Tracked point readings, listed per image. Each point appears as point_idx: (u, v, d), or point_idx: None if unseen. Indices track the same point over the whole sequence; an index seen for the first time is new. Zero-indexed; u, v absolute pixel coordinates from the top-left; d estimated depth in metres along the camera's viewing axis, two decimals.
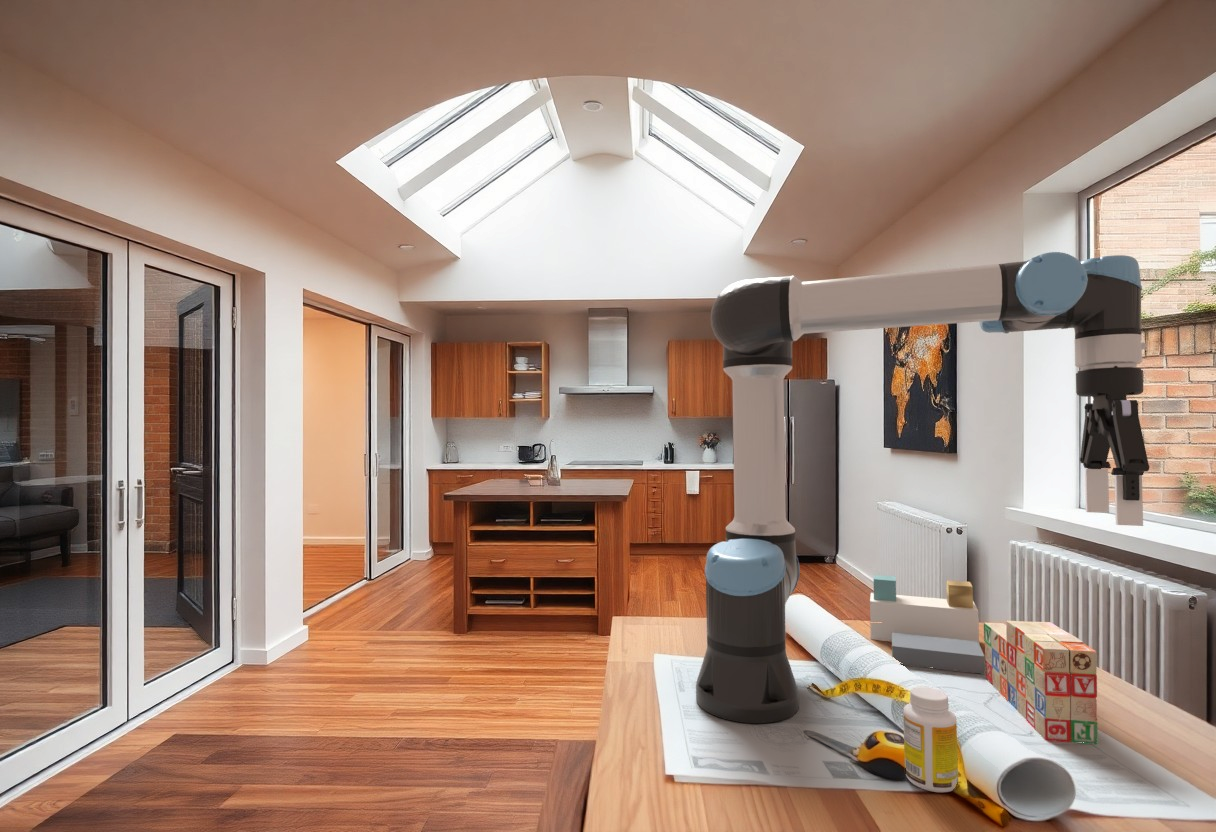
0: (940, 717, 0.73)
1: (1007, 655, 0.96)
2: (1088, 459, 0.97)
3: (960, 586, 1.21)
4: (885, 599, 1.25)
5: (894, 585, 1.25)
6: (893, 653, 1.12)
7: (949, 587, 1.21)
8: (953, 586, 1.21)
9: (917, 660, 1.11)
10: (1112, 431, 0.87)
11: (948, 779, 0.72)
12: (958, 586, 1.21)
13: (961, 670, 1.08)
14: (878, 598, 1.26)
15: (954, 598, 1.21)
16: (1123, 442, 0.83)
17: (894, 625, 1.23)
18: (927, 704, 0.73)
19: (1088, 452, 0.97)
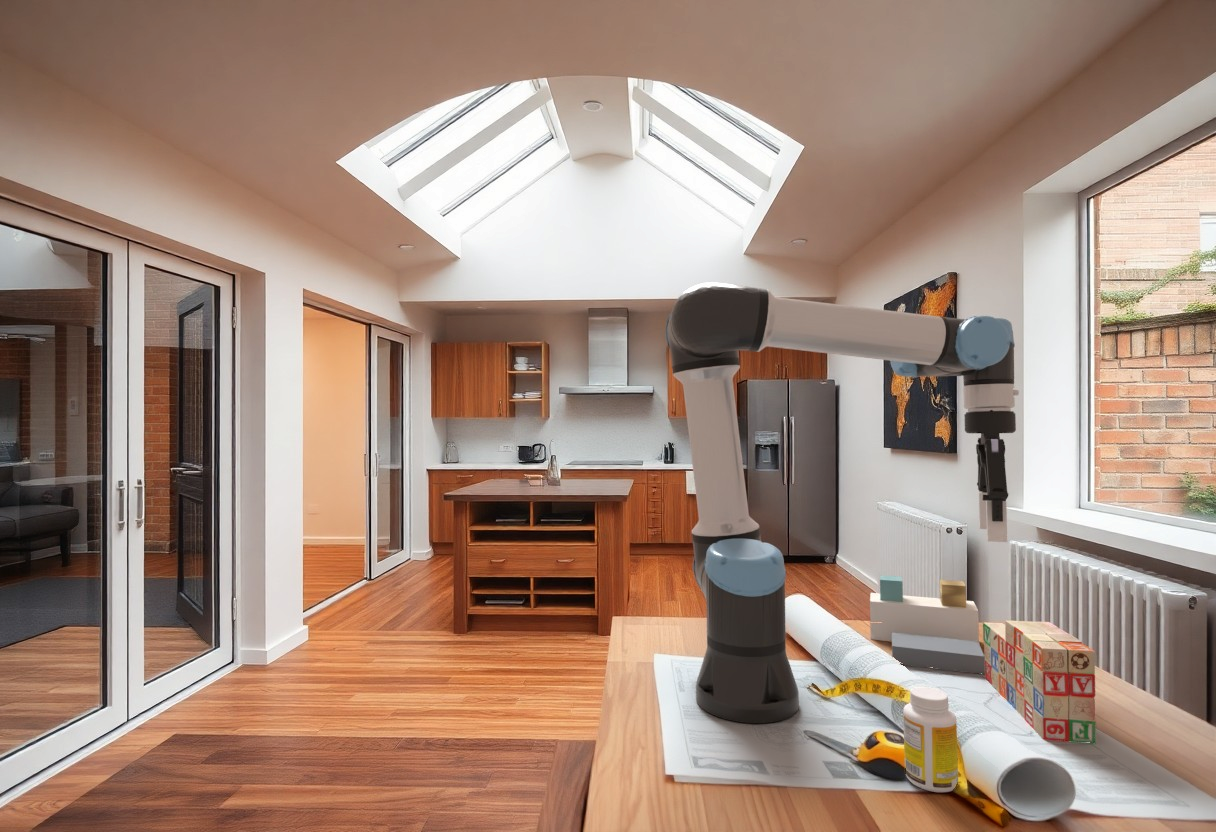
0: (940, 717, 0.73)
1: (1006, 654, 0.96)
2: (980, 484, 1.16)
3: (953, 585, 1.21)
4: (892, 599, 1.25)
5: (901, 586, 1.24)
6: (893, 653, 1.12)
7: (942, 586, 1.22)
8: (947, 585, 1.21)
9: (917, 660, 1.11)
10: (987, 464, 1.06)
11: (948, 779, 0.72)
12: (951, 585, 1.21)
13: (961, 670, 1.08)
14: (885, 599, 1.26)
15: (947, 597, 1.21)
16: (990, 474, 1.02)
17: (894, 625, 1.23)
18: (927, 704, 0.73)
19: (980, 478, 1.16)
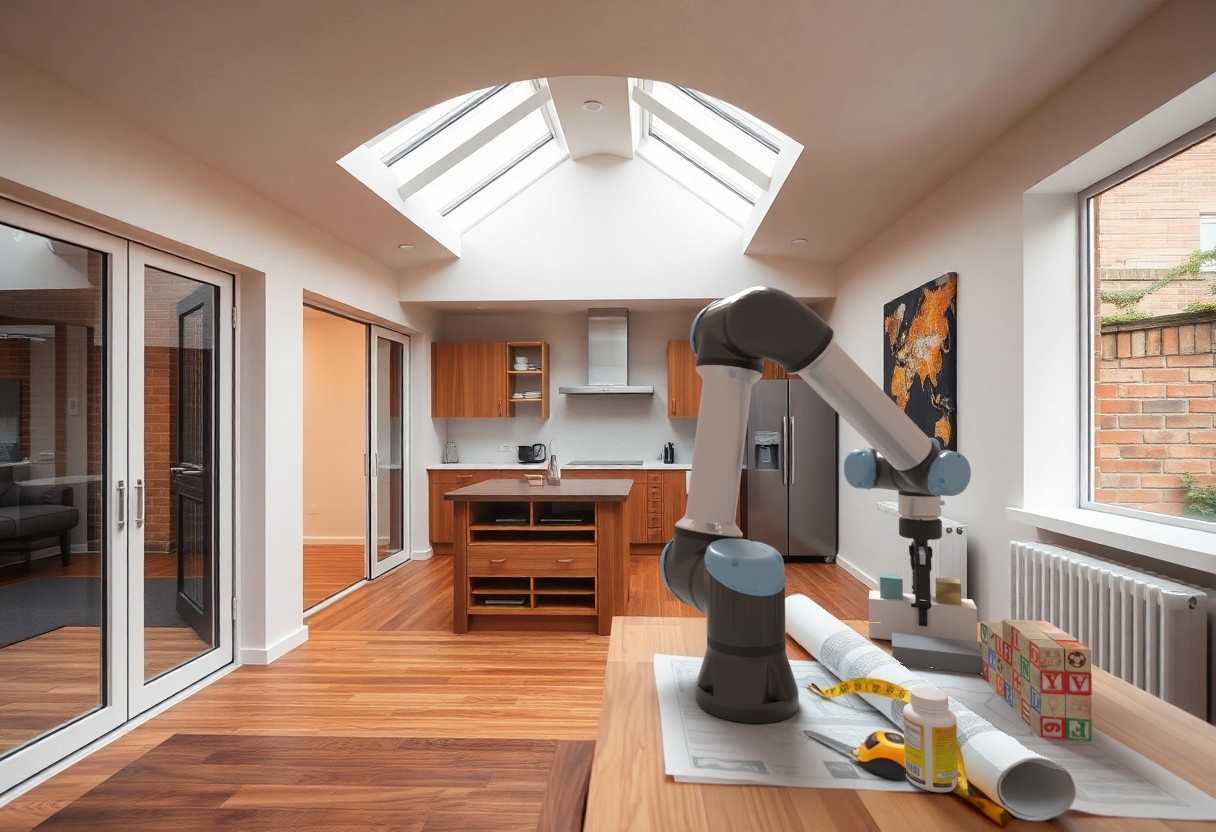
0: (940, 717, 0.73)
1: (1003, 653, 0.97)
2: (914, 587, 1.29)
3: (949, 583, 1.21)
4: (892, 597, 1.25)
5: (901, 583, 1.24)
6: (893, 653, 1.12)
7: (938, 584, 1.22)
8: (942, 583, 1.22)
9: (917, 660, 1.11)
10: None
11: (948, 779, 0.72)
12: (947, 583, 1.21)
13: (961, 670, 1.08)
14: (884, 596, 1.25)
15: (943, 595, 1.22)
16: (917, 586, 1.19)
17: (893, 622, 1.23)
18: (927, 704, 0.73)
19: (913, 581, 1.29)
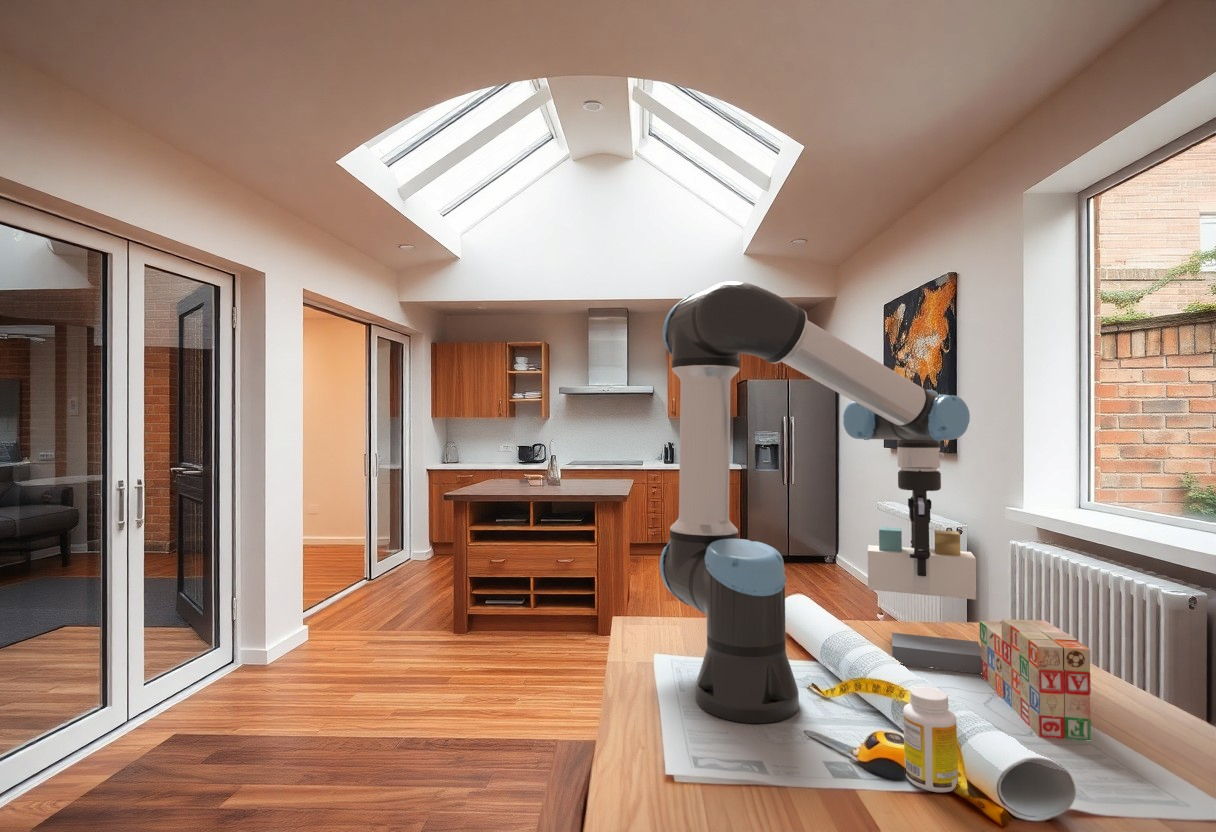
0: (940, 717, 0.73)
1: (1002, 653, 0.97)
2: (913, 541, 1.29)
3: (948, 534, 1.21)
4: (891, 549, 1.25)
5: (900, 535, 1.25)
6: (893, 653, 1.12)
7: (937, 535, 1.22)
8: (941, 534, 1.22)
9: (917, 660, 1.11)
10: None
11: (948, 779, 0.72)
12: (946, 534, 1.22)
13: (961, 670, 1.08)
14: (883, 549, 1.26)
15: (941, 546, 1.22)
16: (916, 536, 1.19)
17: (891, 574, 1.24)
18: (927, 704, 0.73)
19: (912, 535, 1.29)
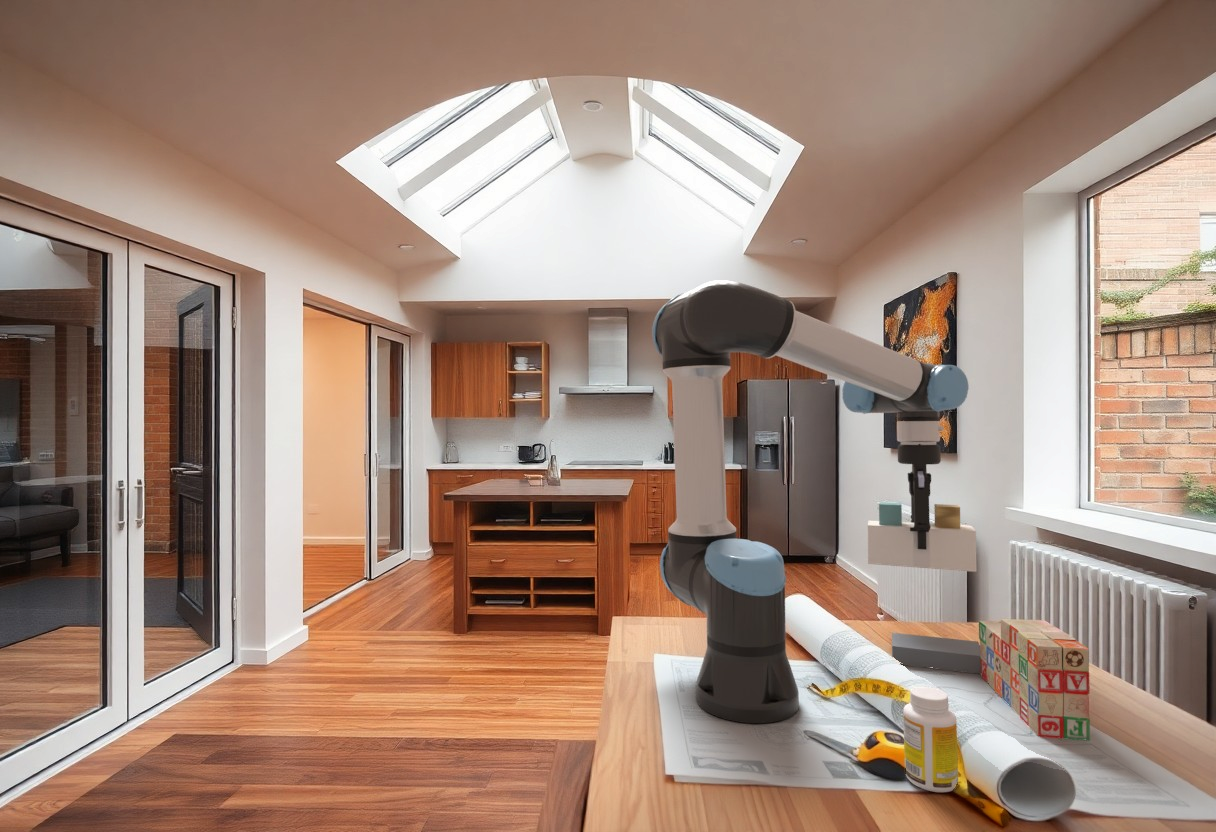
0: (940, 717, 0.73)
1: (1002, 652, 0.97)
2: (912, 515, 1.29)
3: (948, 507, 1.21)
4: (891, 523, 1.25)
5: (900, 509, 1.24)
6: (893, 653, 1.12)
7: (937, 508, 1.22)
8: (941, 507, 1.22)
9: (917, 660, 1.11)
10: None
11: (948, 779, 0.72)
12: (946, 507, 1.21)
13: (961, 670, 1.08)
14: (883, 523, 1.25)
15: (941, 519, 1.22)
16: (916, 509, 1.19)
17: (892, 548, 1.24)
18: (927, 704, 0.73)
19: (912, 509, 1.29)
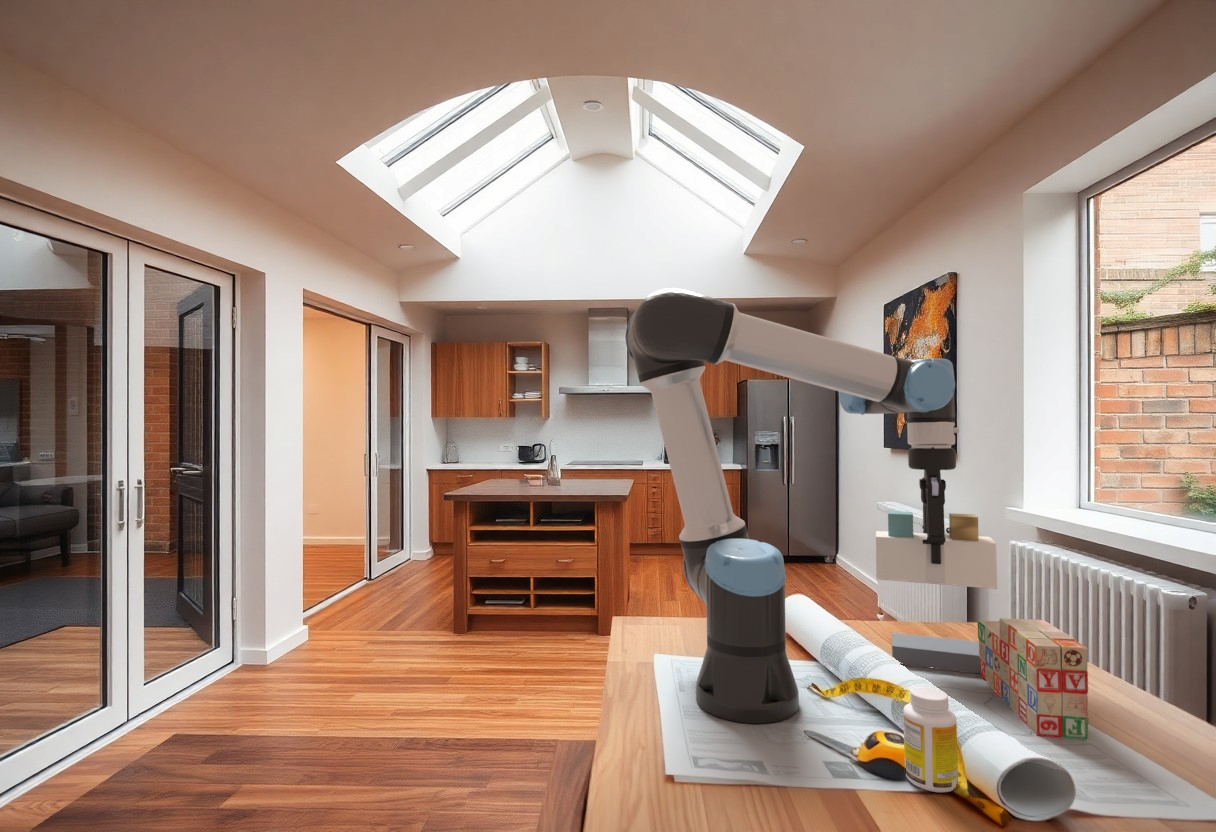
0: (940, 717, 0.73)
1: (1000, 652, 0.97)
2: (925, 526, 1.17)
3: (964, 517, 1.10)
4: (901, 535, 1.14)
5: (911, 519, 1.13)
6: (893, 653, 1.12)
7: (952, 519, 1.11)
8: (957, 517, 1.10)
9: (917, 660, 1.11)
10: None
11: (948, 779, 0.72)
12: (962, 517, 1.10)
13: (961, 670, 1.08)
14: (893, 534, 1.14)
15: (957, 530, 1.10)
16: (929, 519, 1.08)
17: (902, 562, 1.12)
18: (927, 704, 0.73)
19: (924, 519, 1.17)
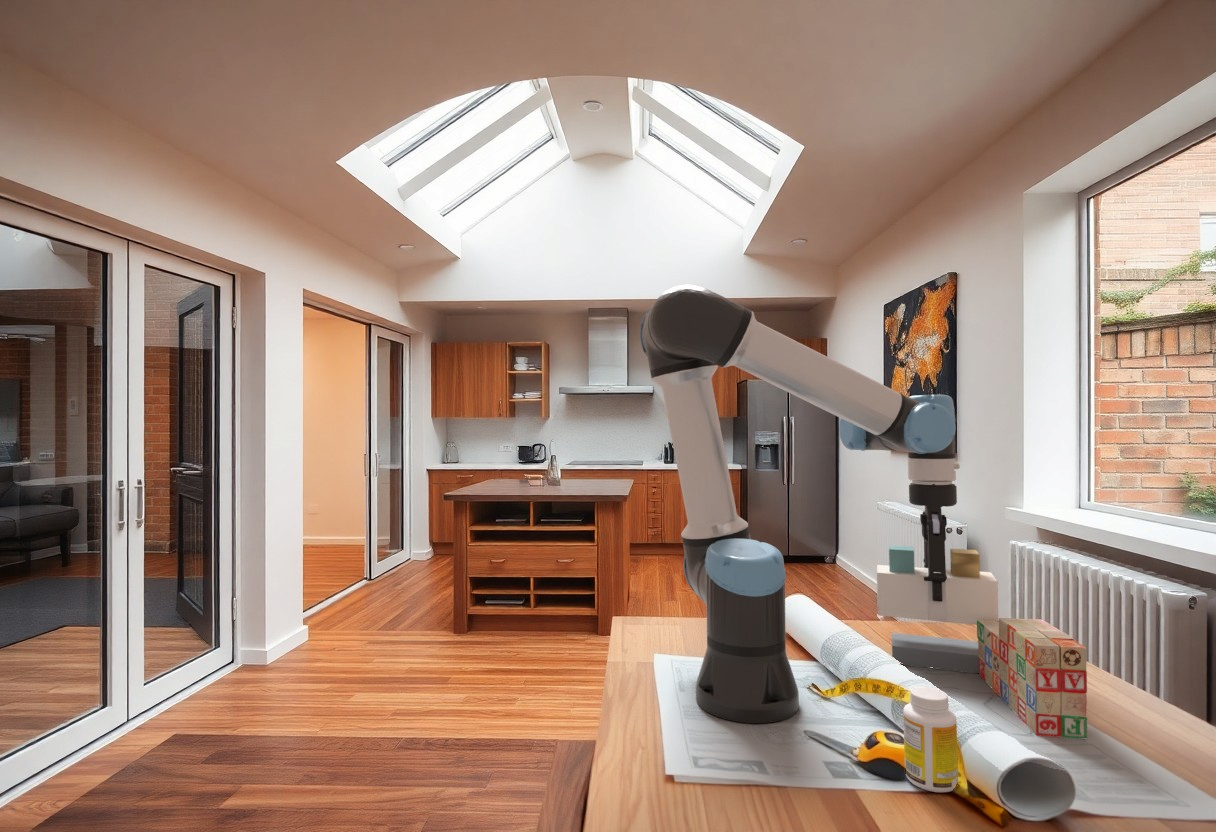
0: (940, 717, 0.73)
1: (1000, 652, 0.97)
2: (926, 560, 1.17)
3: (965, 554, 1.10)
4: (902, 571, 1.13)
5: (912, 555, 1.13)
6: (893, 653, 1.12)
7: (953, 555, 1.10)
8: (958, 554, 1.10)
9: (917, 660, 1.11)
10: None
11: (948, 779, 0.72)
12: (963, 554, 1.10)
13: (961, 670, 1.08)
14: (894, 570, 1.14)
15: (959, 567, 1.10)
16: (930, 557, 1.07)
17: (904, 598, 1.12)
18: (927, 704, 0.73)
19: (925, 554, 1.17)
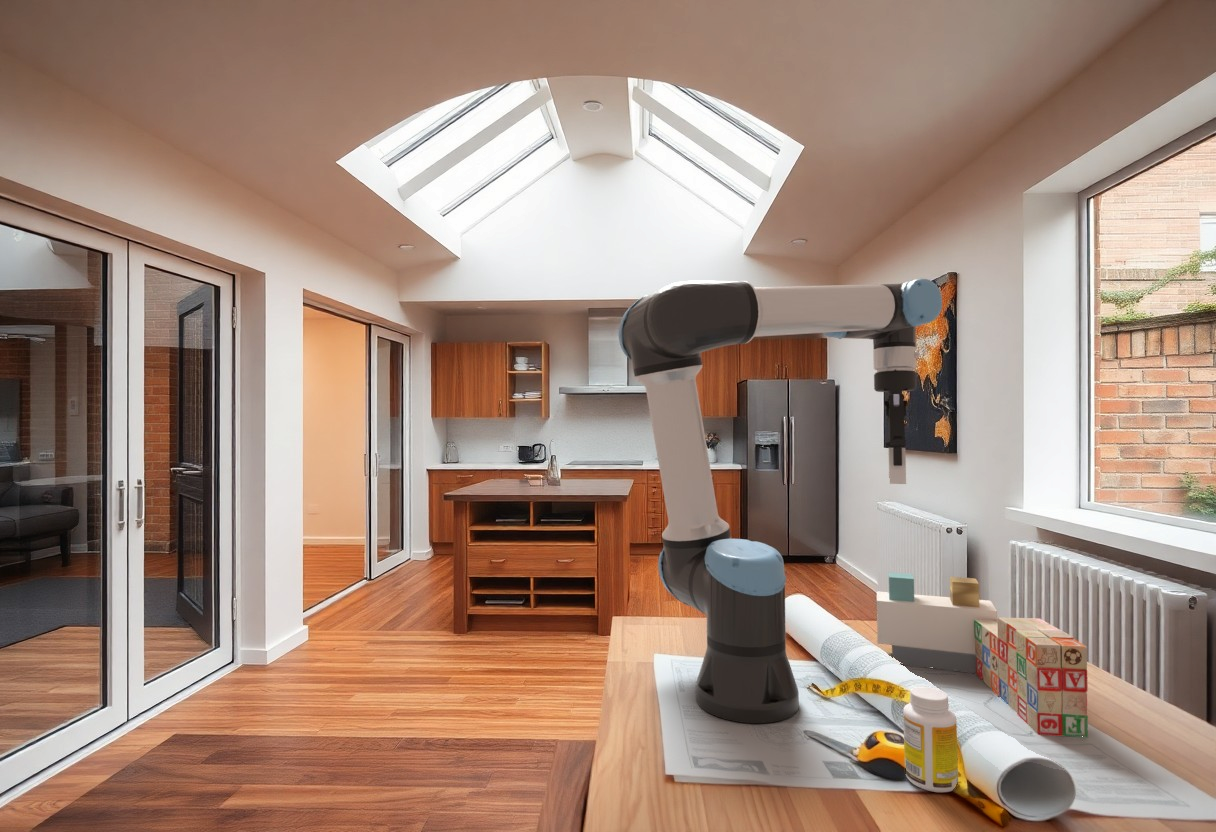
0: (940, 717, 0.73)
1: (998, 651, 0.98)
2: (889, 438, 1.30)
3: (965, 583, 1.10)
4: (902, 599, 1.13)
5: (912, 584, 1.13)
6: (893, 653, 1.12)
7: (953, 584, 1.10)
8: (958, 583, 1.10)
9: (917, 660, 1.11)
10: None
11: (948, 779, 0.72)
12: (963, 583, 1.10)
13: (961, 670, 1.08)
14: (894, 598, 1.14)
15: (958, 596, 1.10)
16: (891, 424, 1.17)
17: (903, 627, 1.12)
18: (927, 704, 0.73)
19: (889, 433, 1.30)
